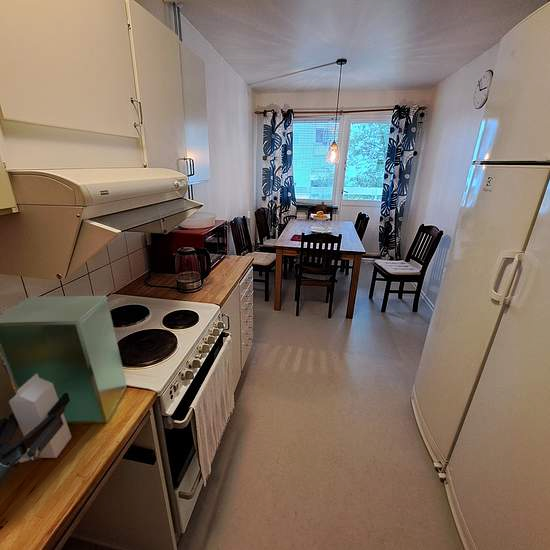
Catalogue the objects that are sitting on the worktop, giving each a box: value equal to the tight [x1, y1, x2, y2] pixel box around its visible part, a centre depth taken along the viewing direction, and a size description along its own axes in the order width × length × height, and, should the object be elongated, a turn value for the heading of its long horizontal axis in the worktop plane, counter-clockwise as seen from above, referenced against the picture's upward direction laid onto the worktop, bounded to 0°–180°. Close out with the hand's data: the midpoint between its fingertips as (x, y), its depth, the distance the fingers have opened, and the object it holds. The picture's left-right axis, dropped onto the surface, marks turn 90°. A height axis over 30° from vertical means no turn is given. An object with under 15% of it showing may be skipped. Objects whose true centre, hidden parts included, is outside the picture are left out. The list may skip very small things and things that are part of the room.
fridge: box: [0, 295, 128, 425], centre depth 82 cm, size 14×21×34 cm, turn 94°
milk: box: [9, 374, 72, 459], centre depth 71 cm, size 6×6×22 cm
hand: (53, 397), depth 75 cm, fingers closed on milk, 6 cm apart
